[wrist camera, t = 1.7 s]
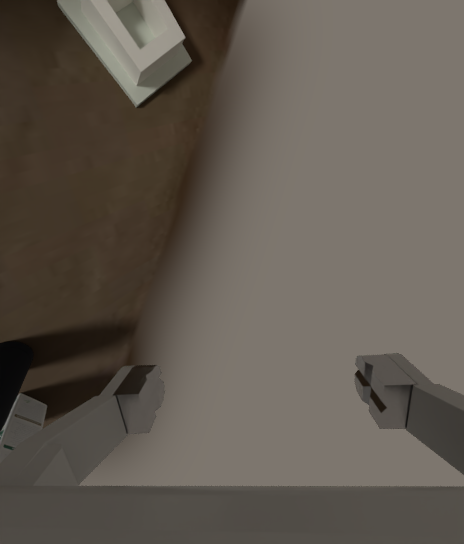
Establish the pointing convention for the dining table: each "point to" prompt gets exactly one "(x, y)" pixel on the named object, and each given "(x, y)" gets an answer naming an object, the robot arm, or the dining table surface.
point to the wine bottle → (12, 374)
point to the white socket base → (131, 41)
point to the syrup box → (21, 423)
